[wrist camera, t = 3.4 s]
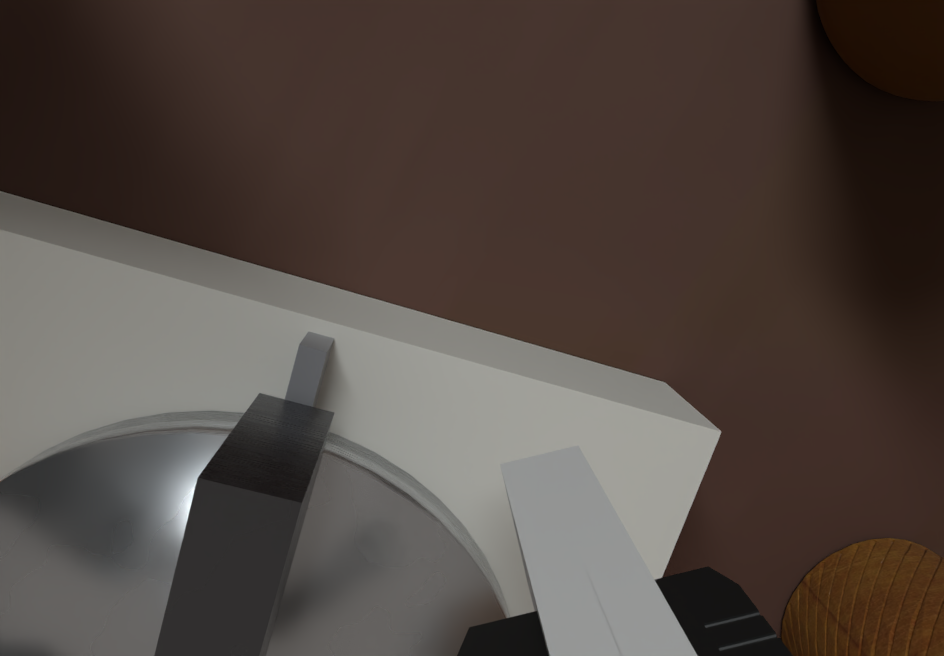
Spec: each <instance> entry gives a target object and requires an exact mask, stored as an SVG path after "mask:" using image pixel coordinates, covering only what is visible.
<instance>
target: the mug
mask: <svg viewBox="0 0 944 656" xmlns="http://www.w3.org/2000/svg"><path fill="white" fill-rule="evenodd" d="M816 4H817V9H818V13H819V16H820V19H821V22H822V25H823V28H824V30H825V32H826V34H827V36H828V38H829V40H830V42H831V44H832V45H833V47H834V48H835V50H836V51H837V53H838V54H839V56H840V57H841V58H842V59H843V61H844V62H845V63H846V64H847V65H848V66H849V67H850V68H851V70H852V71H854V72H855V73H856V74H857V75H858V76H860V77H861V78H862V79H863V80H864V81H866V82H868V83H869V84H871V85H873V86H874V87H876V88H878V89H880V90H882V91H885V92H887V93H890V94H892V95H895V96H900V97H904V98H908V99H913V100H921V101H933V102H936V101H944V0H816Z"/></svg>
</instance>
